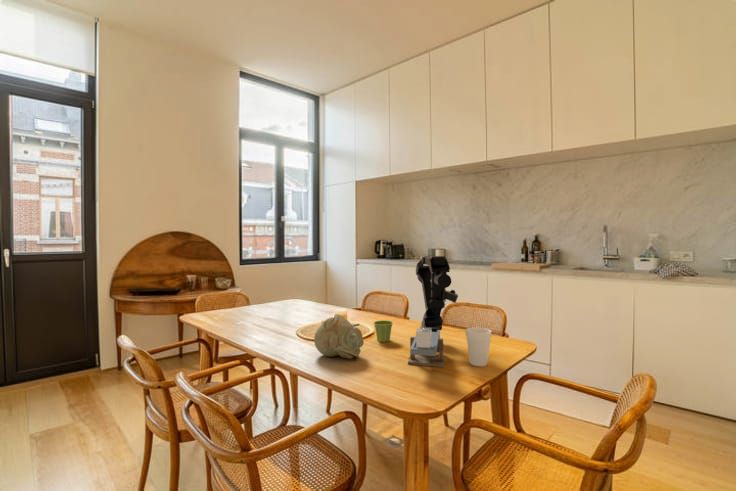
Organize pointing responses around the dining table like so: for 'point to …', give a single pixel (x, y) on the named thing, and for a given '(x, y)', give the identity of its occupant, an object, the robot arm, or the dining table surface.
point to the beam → (427, 352)
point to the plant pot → (383, 330)
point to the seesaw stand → (426, 359)
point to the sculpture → (338, 338)
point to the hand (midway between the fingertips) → (438, 320)
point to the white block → (424, 338)
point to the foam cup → (478, 345)
